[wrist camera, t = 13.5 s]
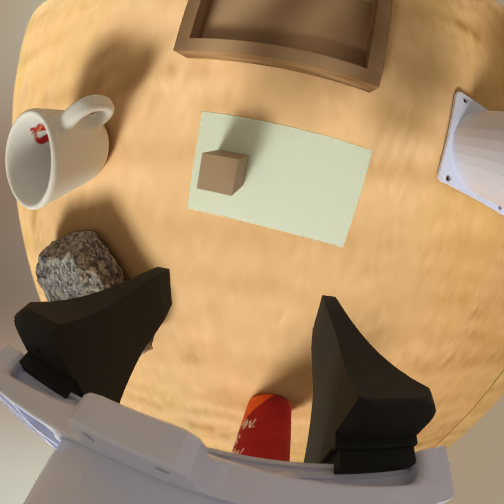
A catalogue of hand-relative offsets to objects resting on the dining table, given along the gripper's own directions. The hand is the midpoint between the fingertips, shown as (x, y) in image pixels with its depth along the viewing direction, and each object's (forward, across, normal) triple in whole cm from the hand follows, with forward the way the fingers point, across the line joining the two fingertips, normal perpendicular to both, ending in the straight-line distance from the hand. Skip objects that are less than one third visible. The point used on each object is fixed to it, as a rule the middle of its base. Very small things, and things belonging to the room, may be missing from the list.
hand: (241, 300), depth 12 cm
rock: (+11, +18, +10) cm, 23 cm away
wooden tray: (+10, 0, -18) cm, 21 cm away
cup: (+10, +16, -7) cm, 21 cm away
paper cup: (+10, -3, +24) cm, 26 cm away
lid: (+11, 0, -4) cm, 11 cm away
